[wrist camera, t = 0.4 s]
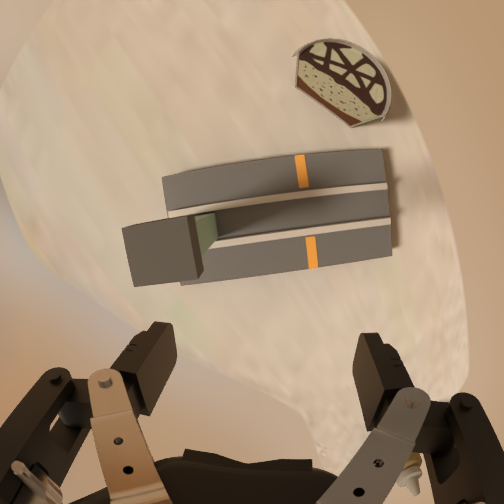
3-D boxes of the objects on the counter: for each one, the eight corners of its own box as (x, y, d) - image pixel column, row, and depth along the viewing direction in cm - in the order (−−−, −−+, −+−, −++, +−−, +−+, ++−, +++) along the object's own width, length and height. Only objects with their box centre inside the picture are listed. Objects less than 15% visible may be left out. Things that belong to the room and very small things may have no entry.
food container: (380, 105, 35) (412, 83, 25) (359, 134, 36) (389, 118, 26) (310, 53, 33) (323, 17, 24) (285, 81, 34) (294, 48, 25)
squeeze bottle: (360, 441, 46) (384, 508, 28) (382, 413, 45) (415, 481, 27) (390, 443, 46) (417, 503, 29) (411, 416, 45) (447, 477, 27)
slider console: (168, 178, 37) (158, 176, 33) (373, 151, 36) (385, 147, 32) (186, 279, 40) (178, 288, 36) (383, 251, 39) (396, 257, 34)
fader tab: (178, 213, 35) (121, 228, 19) (218, 206, 35) (186, 216, 19) (184, 248, 36) (134, 287, 20) (223, 242, 36) (198, 279, 20)
